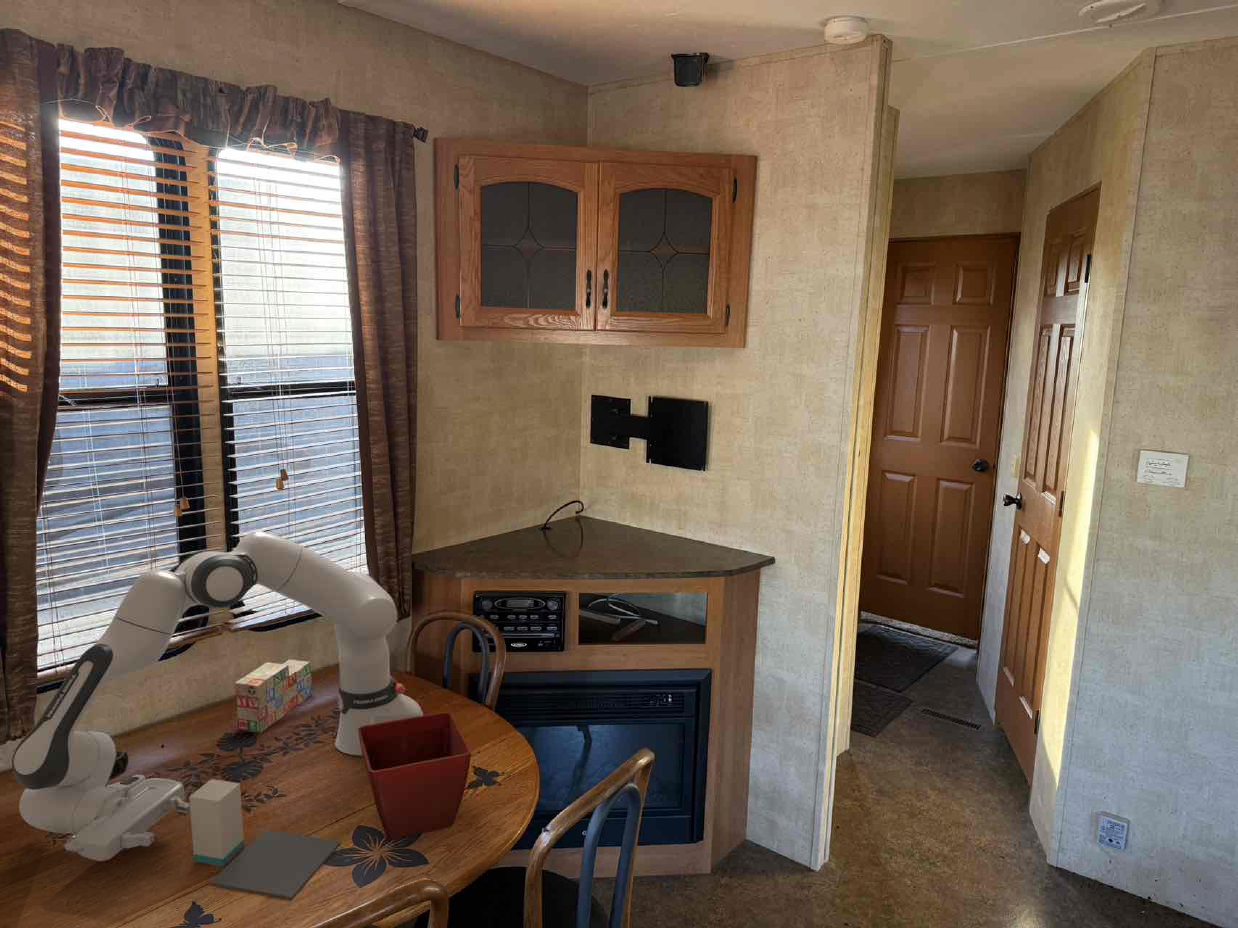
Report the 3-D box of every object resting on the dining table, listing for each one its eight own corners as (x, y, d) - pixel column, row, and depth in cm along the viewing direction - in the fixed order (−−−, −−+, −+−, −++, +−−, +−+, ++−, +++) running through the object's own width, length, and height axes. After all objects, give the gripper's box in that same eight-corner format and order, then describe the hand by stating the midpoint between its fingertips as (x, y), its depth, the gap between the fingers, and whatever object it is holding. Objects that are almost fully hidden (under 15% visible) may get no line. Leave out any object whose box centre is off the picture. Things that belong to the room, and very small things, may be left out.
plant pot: (359, 801, 179) (357, 725, 176) (452, 783, 186) (450, 709, 183) (372, 855, 161) (369, 772, 158) (473, 832, 169) (472, 752, 166)
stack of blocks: (291, 692, 228) (289, 647, 225) (312, 695, 226) (310, 650, 224) (237, 730, 207) (234, 681, 205) (260, 733, 206) (257, 684, 203)
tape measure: (91, 768, 189) (90, 752, 188) (127, 759, 193) (126, 744, 192) (93, 783, 184) (92, 766, 183) (130, 773, 187) (129, 757, 187)
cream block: (215, 841, 164) (211, 779, 162) (243, 846, 163) (239, 783, 161) (194, 861, 159) (189, 796, 156) (223, 866, 157) (218, 801, 155)
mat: (209, 884, 152) (209, 882, 152) (264, 831, 168) (264, 829, 168) (291, 899, 149) (291, 896, 149) (340, 844, 164) (340, 841, 164)
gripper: (56, 830, 149) (125, 842, 146) (144, 769, 168) (206, 778, 166) (59, 863, 150) (128, 876, 147) (146, 799, 170) (209, 808, 167)
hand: (170, 824), depth 157 cm, fingers open, 8 cm apart
